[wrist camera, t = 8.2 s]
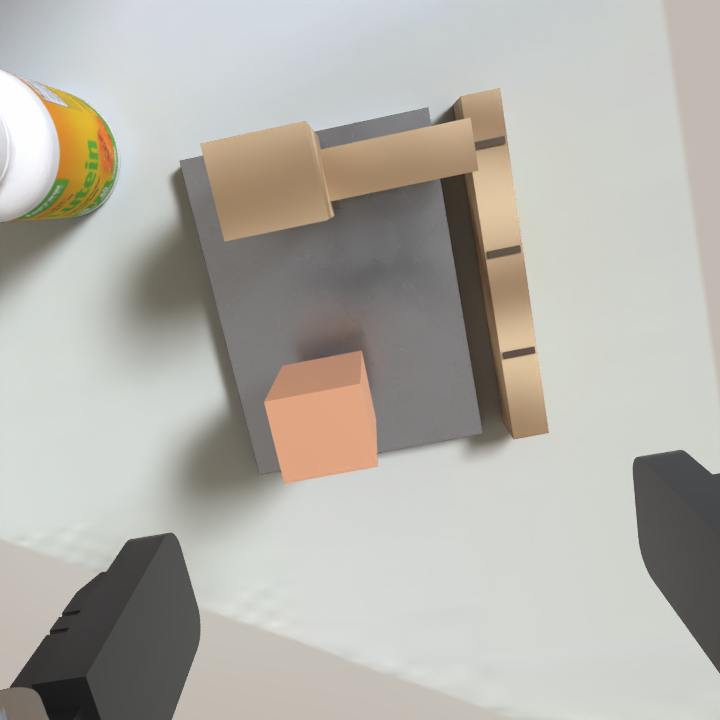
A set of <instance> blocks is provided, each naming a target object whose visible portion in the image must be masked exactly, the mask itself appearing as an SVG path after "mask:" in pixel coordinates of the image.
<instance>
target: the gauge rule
mask: <svg viewBox="0 0 720 720" xmlns="http://www.w3.org/2000/svg"><path fill="white" fill-rule="evenodd" d="M453 106H454V113H455V119H456V121H452V122H448V123H443V124H438V125H433V126H429V127H424V128H419V129H415V130H410V131H405V132H401V133H396V134H391V135H386V136H382V137H377V138H372V139H368V140H363V141H358V142H354V143H349V144H344V145H339V146H335V147H330V148H325V149H321V147H320V142H319V137H318V136H317V134H316V133H315V132H314V131H313V130H312V128H311V127H310V126H309V125H308V124H307V122H306V121H303V122H298V123H294V124H289V125H285V126H280V127H275V128H271V129H266V130H261V131H257V132H252V133H247V134H243V135H238V136H234V137H229V138H224V139H220V140H215V141H210V142H206V143H201V144H200V145H201V149H202V153H203V157H204V161H205V165H206V169H207V173H208V177H209V181H210V185H211V189H212V193H213V197H214V201H215V205H216V209H217V213H218V217H219V222H220V226H221V230H222V234H223V238H224V242H225V241H230V240H235V239H239V238H244V237H249V236H254V235H259V234H264V233H269V232H273V231H278V230H283V229H288V228H293V227H298V226H302V225H307V224H312V223H317V222H322V221H326V220H328V219H330V218H332V217H333V216H335V215H334V210H333V205H332V201H335V200H340V199H345V198H350V197H355V196H360V195H364V194H369V193H374V192H379V191H384V190H388V189H393V188H398V187H403V186H408V185H412V184H417V183H422V182H427V181H432V180H436V179H441V178H446V177H451V176H456V175H461V174H464V176H465V182H466V188H467V195H468V201H469V207H470V214H471V220H472V226H473V233H474V239H475V245H476V252H477V258H478V264H479V271H480V277H481V283H482V290H483V296H484V302H485V308H486V315H487V321H488V327H489V334H490V340H491V346H492V353H493V359H494V365H495V372H496V378H497V384H498V391H499V397H500V403H501V410H502V416H503V422H504V424H505V425H506V427H507V429H508V430H509V432H510V434H511V435H512V437H513V439H518V438H524V437H529V436H535V435H540V434H546V433H549V431H548V424H547V417H546V410H545V403H544V396H543V389H542V382H541V375H540V368H539V361H538V354H537V346H536V339H535V332H534V325H533V318H532V311H531V304H530V297H529V290H528V283H527V276H526V269H525V262H524V255H523V248H522V241H521V234H520V227H519V220H518V212H517V205H516V198H515V191H514V184H513V177H512V170H511V163H510V156H509V149H508V142H507V135H506V128H505V121H504V114H503V107H502V100H501V93H500V88H498V89H493V90H489V91H484V92H480V93H475V94H470V95H466V96H461V97H460V98H459V99H458V100H457V101H456V102H455V103H454V104H453Z"/></svg>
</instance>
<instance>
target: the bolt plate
mask: <svg viewBox="0 0 720 720" xmlns="http://www.w3.org/2000/svg"><path fill="white" fill-rule="evenodd" d="M429 126H431V121H430V115H429V109H428V108H423V109H418V110H414V111H409V112H404V113H400V114H395V115H390V116H386V117H381V118H376V119H372V120H367V121H363V122H358V123H353V124H349V125H344V126H339V127H335V128H330V129H325V130H321V131H316V132H315V133H316V134H317V136H318V137H319V142H320V147H321V149H325V148H330V147H335V146H339V145H344V144H349V143H354V142H358V141H363V140H368V139H372V138H377V137H382V136H386V135H391V134H396V133H401V132H405V131H410V130H415V129H419V128H424V127H429ZM180 165H181V169H182V173H183V177H184V181H185V184H186V188H187V192H188V196H189V200H190V204H191V208H192V212H193V216H194V220H195V224H196V228H197V231H198V235H199V239H200V243H201V247H202V251H203V255H204V259H205V263H206V267H207V271H208V274H209V278H210V282H211V286H212V290H213V294H214V298H215V302H216V306H217V310H218V314H219V318H220V321H221V325H222V329H223V333H224V337H225V341H226V345H227V349H228V353H229V357H230V361H231V365H232V368H233V372H234V376H235V380H236V384H237V388H238V392H239V396H240V400H241V404H242V408H243V411H244V415H245V419H246V423H247V427H248V431H249V435H250V439H251V443H252V447H253V451H254V455H255V458H256V462H257V466H258V470H259V474H265V473H271V472H276V471H281V469H280V465H279V461H278V456H277V452H276V448H275V444H274V440H273V436H272V432H271V428H270V424H269V420H268V416H267V412H266V408H265V404H264V401H265V399H266V397H267V395H268V393H269V391H270V389H271V387H272V385H273V383H274V381H275V379H276V377H277V376H278V374H279V372H280V370H281V368H282V366H284V365H289V364H294V363H299V362H305V361H310V360H315V359H320V358H325V357H330V356H336V355H341V354H346V353H351V352H356V351H361V350H362V354H363V359H364V364H365V369H366V373H367V378H368V383H369V388H370V393H371V398H372V403H373V407H374V412H375V417H376V432H377V453H380V452H385V451H390V450H396V449H401V448H407V447H412V446H418V445H423V444H428V443H434V442H439V441H445V440H450V439H456V438H461V437H466V436H472V435H477V434H483V432H482V426H481V420H480V414H479V408H478V402H477V396H476V390H475V384H474V378H473V372H472V366H471V360H470V354H469V348H468V342H467V336H466V330H465V324H464V318H463V312H462V306H461V300H460V294H459V288H458V282H457V276H456V270H455V264H454V258H453V252H452V246H451V240H450V234H449V228H448V222H447V216H446V210H445V204H444V198H443V192H442V186H441V180H440V179H436V180H432V181H427V182H422V183H417V184H412V185H408V186H403V187H398V188H393V189H388V190H384V191H379V192H374V193H369V194H364V195H360V196H355V197H350V198H345V199H340V200H335V201H332V205H333V210H334V215H335V216H333V217H332V218H330V219H328V220H326V221H322V222H317V223H312V224H307V225H302V226H298V227H293V228H288V229H283V230H278V231H273V232H269V233H264V234H259V235H254V236H249V237H244V238H239V239H235V240H230V241H225V242H224V238H223V234H222V230H221V226H220V222H219V217H218V213H217V209H216V205H215V201H214V197H213V193H212V189H211V185H210V181H209V177H208V173H207V169H206V165H205V161H204V157H203V156H199V157H195V158H190V159H185V160H181V161H180Z"/></svg>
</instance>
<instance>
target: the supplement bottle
mask: <svg viewBox="0 0 720 720" xmlns="http://www.w3.org/2000/svg"><path fill="white" fill-rule="evenodd" d="M120 165H121V159H120V150H119V145H118V142H117V139H116V136H115V134H114V132H113V130H112V128H111V126H110V125H109V123H108V122H107V121H106V119H105V118H104V117H103V116H102V115H101V114H100V113H99V112H98V111H97V110H96V109H95V108H94V107H93V106H91V105H90V104H88V103H87V102H85V101H84V100H82V99H80V98H78V97H76V96H73V95H71V94H68V93H65V92H63V91H60V90H57V89H54V88H51V87H48V86H46V85H43V84H39V83H37V82H34V81H31V80H29V79H26V78H22V77H20V76H17V75H14V74H11V73H9V72H6V71H3V70H0V222H7V221H21V220H39V219H57V218H70V217H76V216H81V215H84V214H87V213H89V212H91V211H93V210H95V209H96V208H98V207H99V206H100V205H102V204H103V203H104V202H105V201H106V200H107V199H108V197H109V196H110V195H111V193H112V192H113V190H114V188H115V186H116V183H117V181H118V177H119V173H120Z"/></svg>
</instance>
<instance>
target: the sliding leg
mask: <svg viewBox="0 0 720 720" xmlns="http://www.w3.org/2000/svg"><path fill="white" fill-rule="evenodd" d="M264 404H265V408H266V412H267V416H268V420H269V424H270V428H271V432H272V436H273V440H274V444H275V448H276V452H277V456H278V461H279V465H280V469H281V473H282V477H283V481H284V484H285V483H290V482H296V481H301V480H307V479H312V478H318V477H323V476H329V475H334V474H339V473H345V472H350V471H356V470H361V469H367V468H372V467H378V461H377V432H376V417H375V412H374V407H373V403H372V398H371V393H370V388H369V383H368V378H367V373H366V369H365V364H364V359H363V354H362V350H361V351H356V352H351V353H346V354H341V355H336V356H330V357H325V358H320V359H315V360H310V361H305V362H299V363H294V364H289V365H284V366H282V368H281V370H280V372H279V374H278V376H277V377H276V379H275V381H274V383H273V385H272V387H271V389H270V391H269V393H268V395H267V397H266V399H265V401H264Z"/></svg>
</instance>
